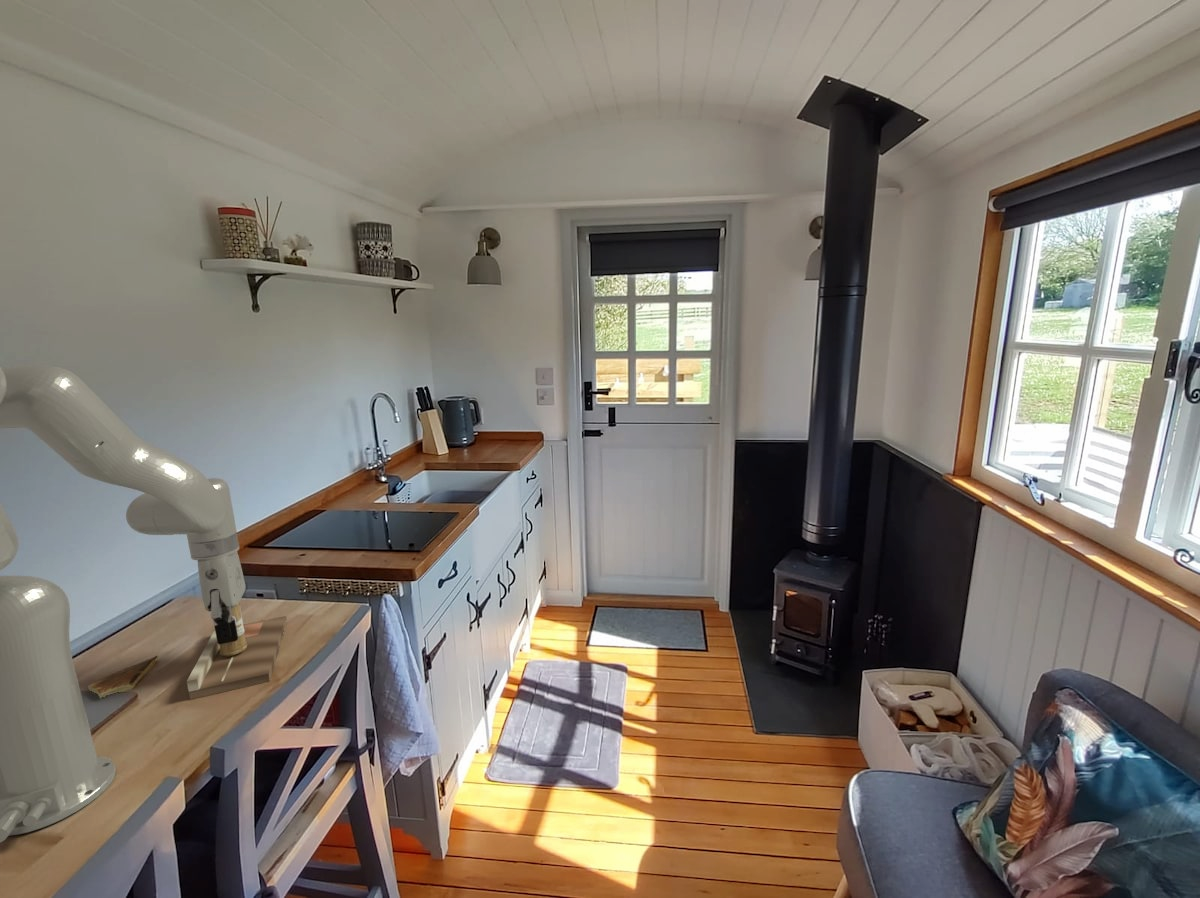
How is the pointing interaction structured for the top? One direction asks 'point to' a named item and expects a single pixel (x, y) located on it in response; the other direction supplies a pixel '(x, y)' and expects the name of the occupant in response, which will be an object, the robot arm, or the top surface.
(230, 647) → the sprinkles bottle
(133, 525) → the robot arm
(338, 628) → the top surface
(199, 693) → the guide board
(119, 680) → the shard
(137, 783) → the top surface
